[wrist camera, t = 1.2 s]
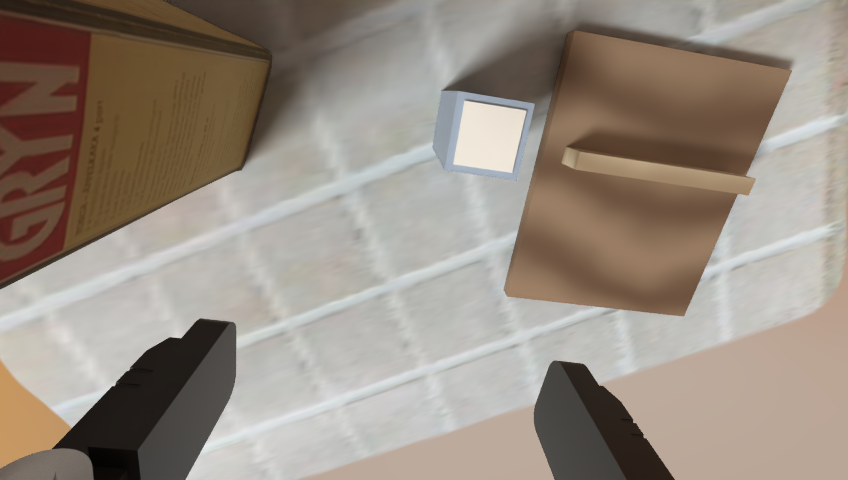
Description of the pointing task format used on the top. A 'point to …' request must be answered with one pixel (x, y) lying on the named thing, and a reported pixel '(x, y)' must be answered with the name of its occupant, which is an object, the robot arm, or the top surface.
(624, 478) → the robot arm
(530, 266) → the board
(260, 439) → the top surface
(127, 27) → the food packaging
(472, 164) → the block
